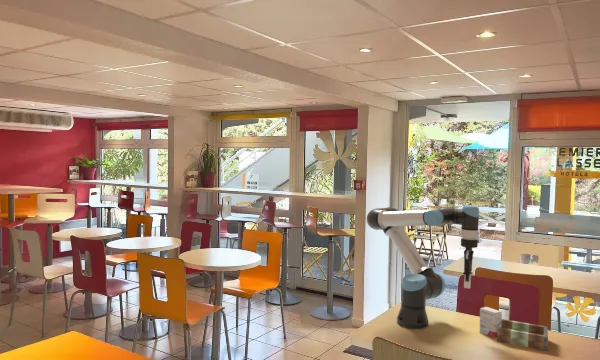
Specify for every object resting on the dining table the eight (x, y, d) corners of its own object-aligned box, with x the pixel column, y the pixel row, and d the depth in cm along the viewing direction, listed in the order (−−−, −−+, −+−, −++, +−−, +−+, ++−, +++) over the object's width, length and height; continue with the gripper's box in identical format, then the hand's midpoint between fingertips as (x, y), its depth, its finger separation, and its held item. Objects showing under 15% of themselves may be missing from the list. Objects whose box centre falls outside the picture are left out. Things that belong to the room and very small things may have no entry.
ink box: (501, 336, 213) (503, 311, 213) (495, 338, 211) (496, 313, 210) (485, 330, 221) (486, 306, 220) (478, 332, 218) (479, 307, 218)
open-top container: (496, 341, 207) (497, 328, 207) (499, 331, 221) (499, 318, 221) (547, 350, 198) (547, 337, 198) (546, 339, 212) (547, 326, 211)
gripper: (476, 241, 211) (473, 292, 212) (479, 237, 223) (477, 285, 224) (458, 239, 215) (456, 289, 216) (463, 235, 227) (461, 283, 228)
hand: (467, 287), depth 220 cm, fingers closed
